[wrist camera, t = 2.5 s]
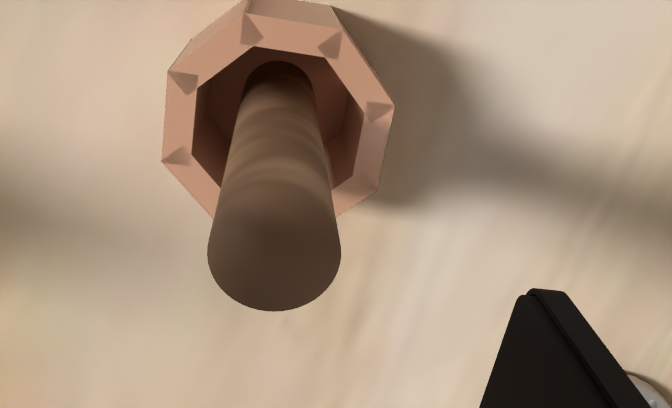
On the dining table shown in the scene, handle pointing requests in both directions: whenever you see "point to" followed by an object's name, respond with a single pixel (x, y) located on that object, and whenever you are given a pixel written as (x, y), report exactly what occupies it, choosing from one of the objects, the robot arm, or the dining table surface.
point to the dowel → (275, 198)
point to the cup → (228, 83)
